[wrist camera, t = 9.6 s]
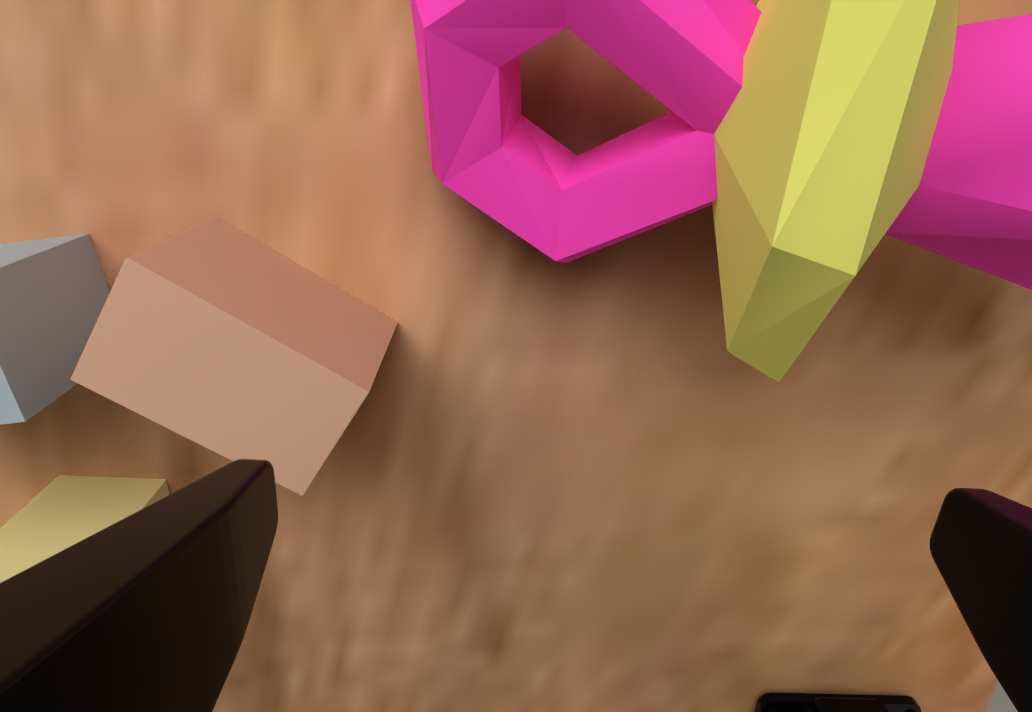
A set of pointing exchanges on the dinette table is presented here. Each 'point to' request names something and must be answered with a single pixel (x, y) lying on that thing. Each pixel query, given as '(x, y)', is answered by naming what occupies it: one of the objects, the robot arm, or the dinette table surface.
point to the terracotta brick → (236, 349)
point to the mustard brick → (71, 516)
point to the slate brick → (45, 319)
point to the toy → (752, 140)
